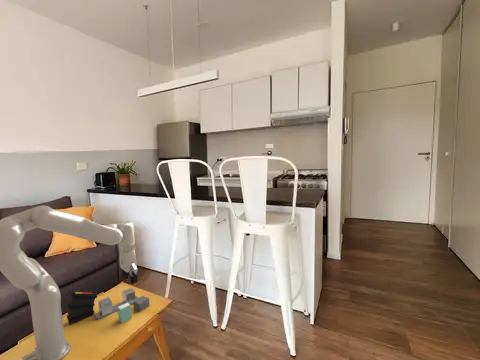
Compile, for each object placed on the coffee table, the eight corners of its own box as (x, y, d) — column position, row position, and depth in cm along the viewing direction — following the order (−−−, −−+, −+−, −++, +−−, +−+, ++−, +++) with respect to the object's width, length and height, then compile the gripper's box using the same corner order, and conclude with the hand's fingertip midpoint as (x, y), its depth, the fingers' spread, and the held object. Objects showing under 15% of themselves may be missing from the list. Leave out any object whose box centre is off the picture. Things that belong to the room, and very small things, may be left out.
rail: (97, 320, 128) (95, 306, 127) (94, 315, 131) (92, 302, 130) (140, 300, 143) (139, 288, 142) (136, 297, 147) (135, 285, 146)
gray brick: (140, 312, 134) (139, 304, 133) (134, 309, 136) (133, 301, 136) (149, 305, 139) (148, 298, 138) (143, 303, 141) (142, 295, 141)
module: (121, 323, 125) (120, 309, 124) (118, 319, 128) (117, 306, 127) (131, 318, 129) (130, 305, 128) (128, 314, 131) (127, 302, 131)
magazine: (59, 322, 124) (72, 290, 127) (88, 320, 134) (99, 291, 136) (61, 325, 122) (74, 293, 125) (90, 324, 131) (101, 294, 134)
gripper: (112, 244, 130) (115, 276, 132) (126, 254, 118) (129, 288, 120) (127, 240, 135) (130, 271, 137) (142, 249, 123) (144, 282, 125)
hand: (129, 279), depth 128 cm, fingers open, 9 cm apart
